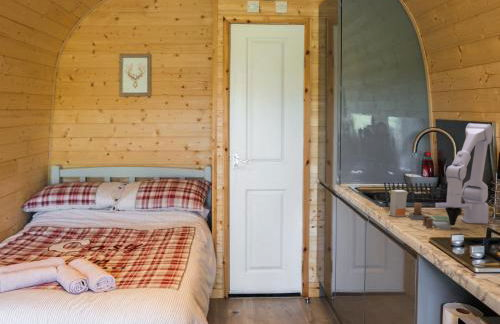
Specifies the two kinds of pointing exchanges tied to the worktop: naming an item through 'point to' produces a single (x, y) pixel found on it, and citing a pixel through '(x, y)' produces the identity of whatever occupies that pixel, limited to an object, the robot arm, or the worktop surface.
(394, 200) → the skincare box
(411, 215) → the socket
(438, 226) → the grey square tile
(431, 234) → the worktop surface
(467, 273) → the worktop surface
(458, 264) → the worktop surface
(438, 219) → the tray
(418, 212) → the dowel
